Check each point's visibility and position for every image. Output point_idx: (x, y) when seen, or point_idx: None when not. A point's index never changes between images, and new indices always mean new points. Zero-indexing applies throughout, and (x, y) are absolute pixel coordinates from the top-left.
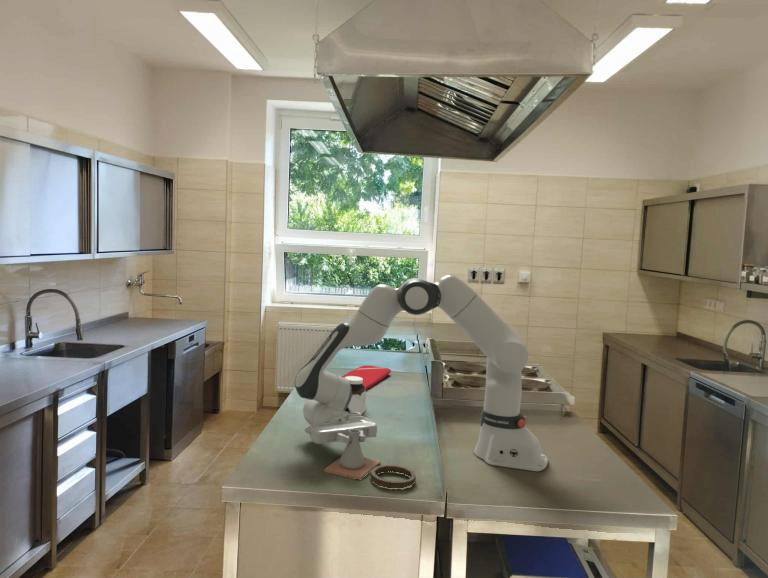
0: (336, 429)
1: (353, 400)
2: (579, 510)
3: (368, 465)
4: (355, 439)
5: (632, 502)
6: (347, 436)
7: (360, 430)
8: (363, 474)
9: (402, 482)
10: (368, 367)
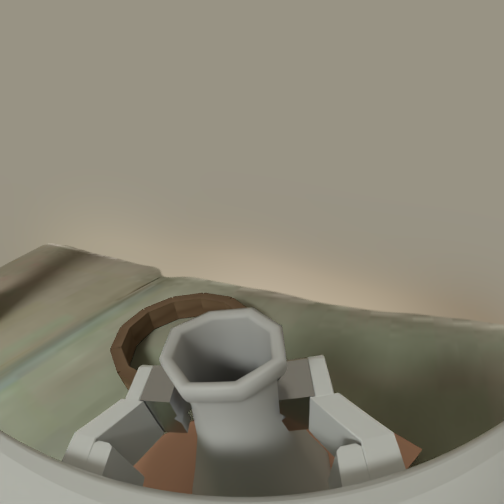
0: (413, 490)
1: None
2: (76, 249)
3: (187, 447)
4: (244, 363)
5: (36, 253)
6: (303, 385)
7: (76, 455)
8: None
9: (202, 293)
10: None
